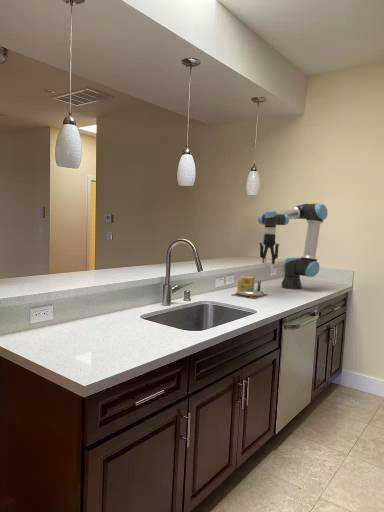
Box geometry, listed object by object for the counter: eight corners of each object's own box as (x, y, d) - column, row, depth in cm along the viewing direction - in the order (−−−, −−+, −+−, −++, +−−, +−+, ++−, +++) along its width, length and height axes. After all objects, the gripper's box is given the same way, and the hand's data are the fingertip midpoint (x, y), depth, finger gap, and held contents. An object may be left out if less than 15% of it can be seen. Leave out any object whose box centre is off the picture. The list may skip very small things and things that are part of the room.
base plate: (244, 291, 276) (244, 290, 276) (267, 295, 266) (267, 293, 266) (230, 295, 261) (231, 294, 261) (255, 299, 251) (255, 297, 251)
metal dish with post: (244, 290, 276) (245, 277, 276) (267, 293, 266) (268, 280, 265) (231, 293, 262) (232, 280, 261) (255, 297, 251) (256, 283, 251)
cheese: (237, 290, 279) (237, 277, 278) (241, 288, 289) (241, 275, 288) (251, 292, 276) (252, 278, 275) (254, 289, 286) (255, 276, 285)
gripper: (255, 233, 262) (253, 267, 264) (279, 234, 252) (278, 270, 254) (260, 233, 268) (258, 266, 270) (284, 234, 258) (282, 269, 260)
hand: (268, 268), depth 262 cm, fingers open, 4 cm apart
